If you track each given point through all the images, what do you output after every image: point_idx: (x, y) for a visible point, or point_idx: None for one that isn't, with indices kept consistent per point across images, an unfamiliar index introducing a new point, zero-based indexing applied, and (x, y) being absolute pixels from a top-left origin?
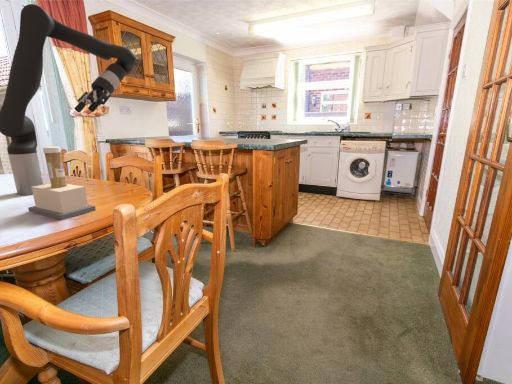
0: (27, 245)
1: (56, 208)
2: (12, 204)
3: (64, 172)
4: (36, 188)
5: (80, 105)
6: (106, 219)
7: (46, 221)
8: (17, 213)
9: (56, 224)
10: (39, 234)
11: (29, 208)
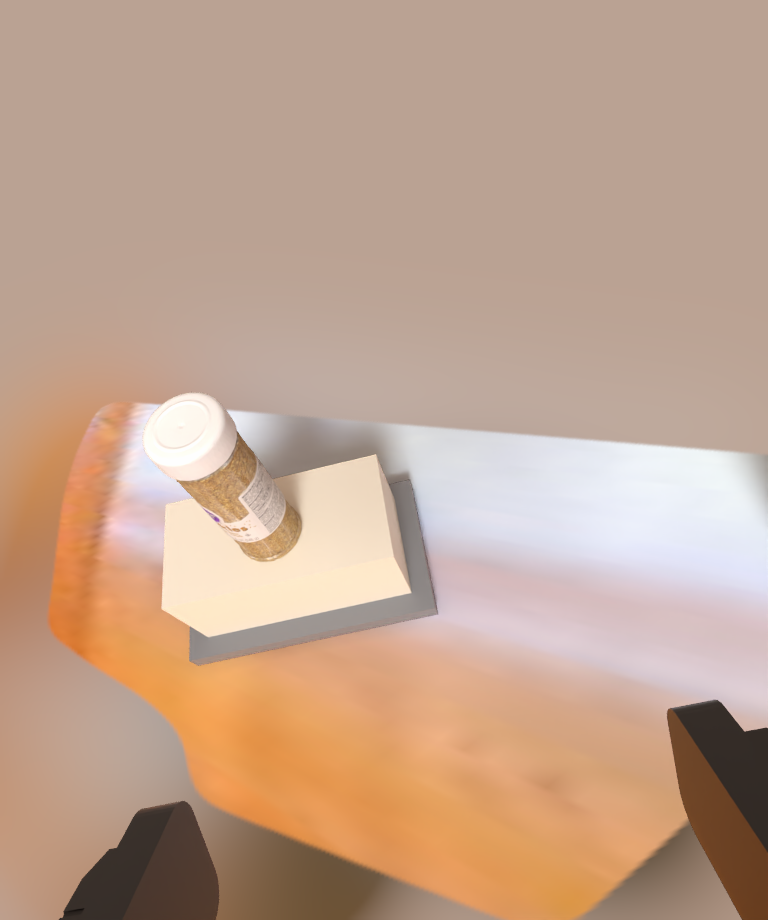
0: (95, 434)
1: None
2: (603, 464)
3: (228, 532)
4: (336, 465)
5: (759, 884)
6: (64, 640)
7: None
8: (422, 458)
9: None
10: (139, 465)
11: (401, 482)
